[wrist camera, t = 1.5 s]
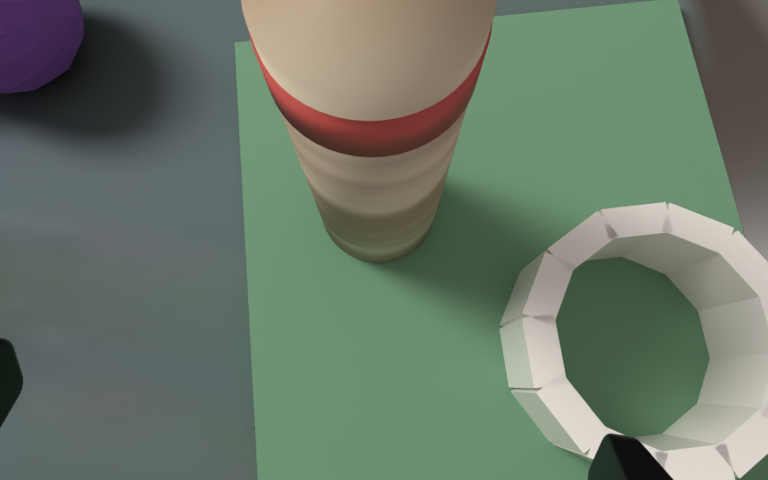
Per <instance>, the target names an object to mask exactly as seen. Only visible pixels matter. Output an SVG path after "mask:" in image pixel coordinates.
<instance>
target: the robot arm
mask: <svg viewBox="0 0 768 480" xmlns="http://www.w3.org/2000/svg"><path fill="white" fill-rule="evenodd" d="M22 386H23V375H22V372H21V369H20V366H19V363H18V359H17V356H16V353H15V350H14V347H13V345H12V343H11V342H10V341H9V340H6V339H2V338H0V427H1V426H2V424H3V422H4V421H5V419H6V417H7V415H8V414H9V412H10V410H11V409H12V407H13V405H14V403H15V402H16V400H17V398H18V397H19V395H20V393H21V390H22ZM588 480H674V479H673V478H672V477H671V476H670V475H669V474H668V473H667V471H666V470H665V469H664V468H663V467H662V466H661V465H660V463H659V462H658V461H657V460H656V459H655V458H654V457H653V456H652V454H651V453H650V452H649V451H648V450H647V449H646V448H645V446H644V445H643V444H642V443H641V442H640V441H639V440H638V439H636V438H634V437H632V436H626V435H619V434H613V433H609V434H607V435H605V436H604V438H603V439H602V441H601V443H600V446H599V448H598V450H597V452H596V454H595V457H594V459H593V461H592V463H591V465H590V468H589V472H588Z"/></svg>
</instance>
